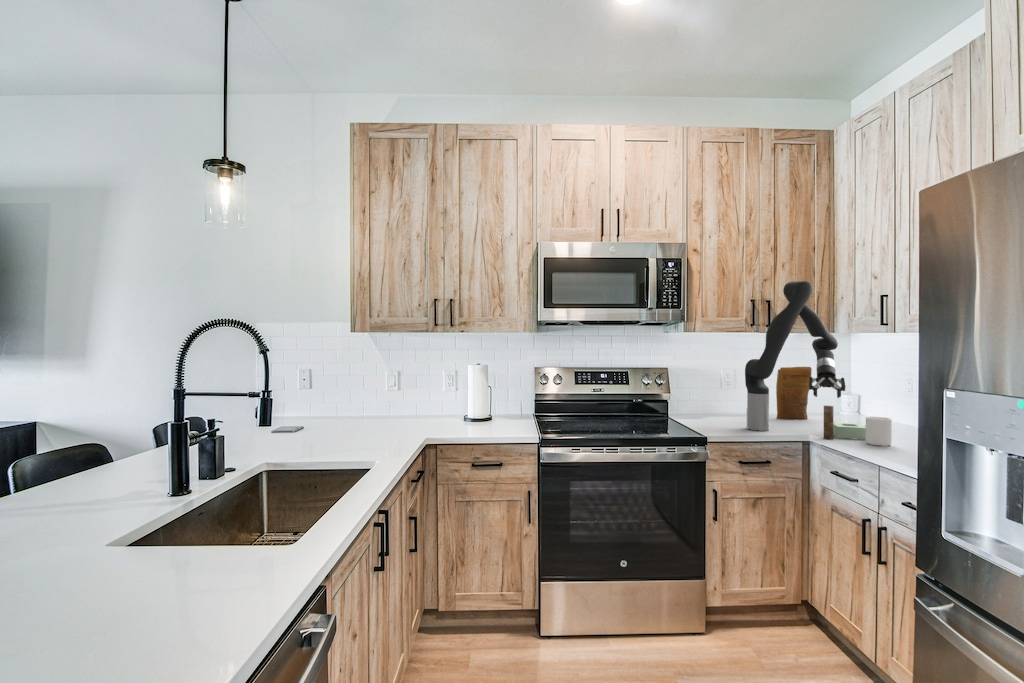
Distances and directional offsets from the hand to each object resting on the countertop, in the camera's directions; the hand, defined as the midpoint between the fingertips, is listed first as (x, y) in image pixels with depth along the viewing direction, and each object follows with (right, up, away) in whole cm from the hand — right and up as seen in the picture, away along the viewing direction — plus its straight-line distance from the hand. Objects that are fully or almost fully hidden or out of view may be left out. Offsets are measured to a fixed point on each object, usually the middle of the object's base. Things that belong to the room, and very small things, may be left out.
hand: (827, 396), depth 232 cm
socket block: (+7, -17, -5) cm, 19 cm away
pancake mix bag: (+8, -17, +43) cm, 47 cm away
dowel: (-5, -17, -10) cm, 20 cm away
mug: (+8, -17, -20) cm, 28 cm away
